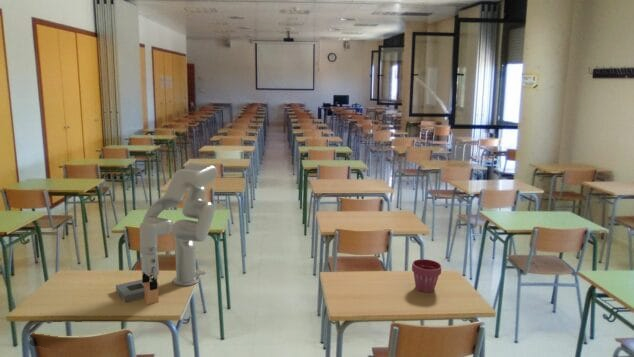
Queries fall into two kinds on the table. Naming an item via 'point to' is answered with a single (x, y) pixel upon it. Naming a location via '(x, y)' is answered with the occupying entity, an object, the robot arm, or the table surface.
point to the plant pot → (426, 274)
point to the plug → (150, 294)
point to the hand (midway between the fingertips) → (149, 285)
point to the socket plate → (131, 290)
